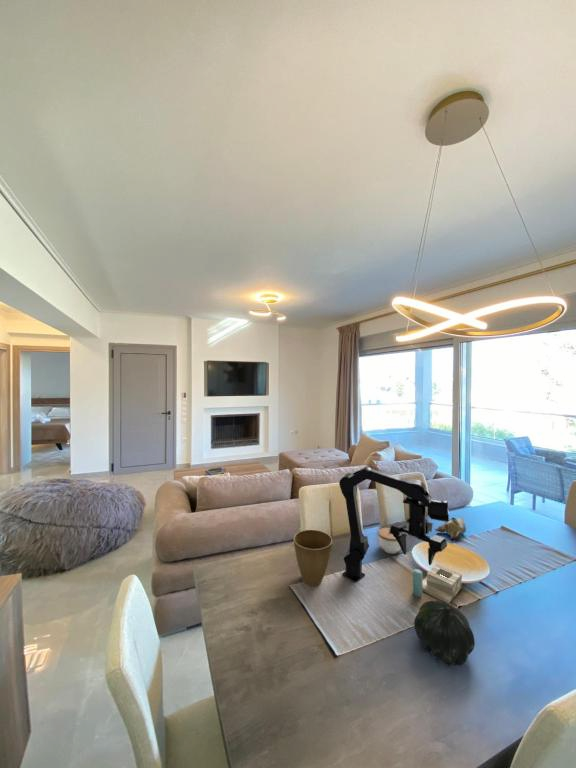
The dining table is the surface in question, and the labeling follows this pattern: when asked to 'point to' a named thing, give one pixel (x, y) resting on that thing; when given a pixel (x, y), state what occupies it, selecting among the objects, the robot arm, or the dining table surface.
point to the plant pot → (312, 554)
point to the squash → (444, 632)
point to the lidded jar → (388, 541)
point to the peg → (417, 583)
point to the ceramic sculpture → (453, 527)
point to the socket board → (442, 583)
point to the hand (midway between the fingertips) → (417, 559)
